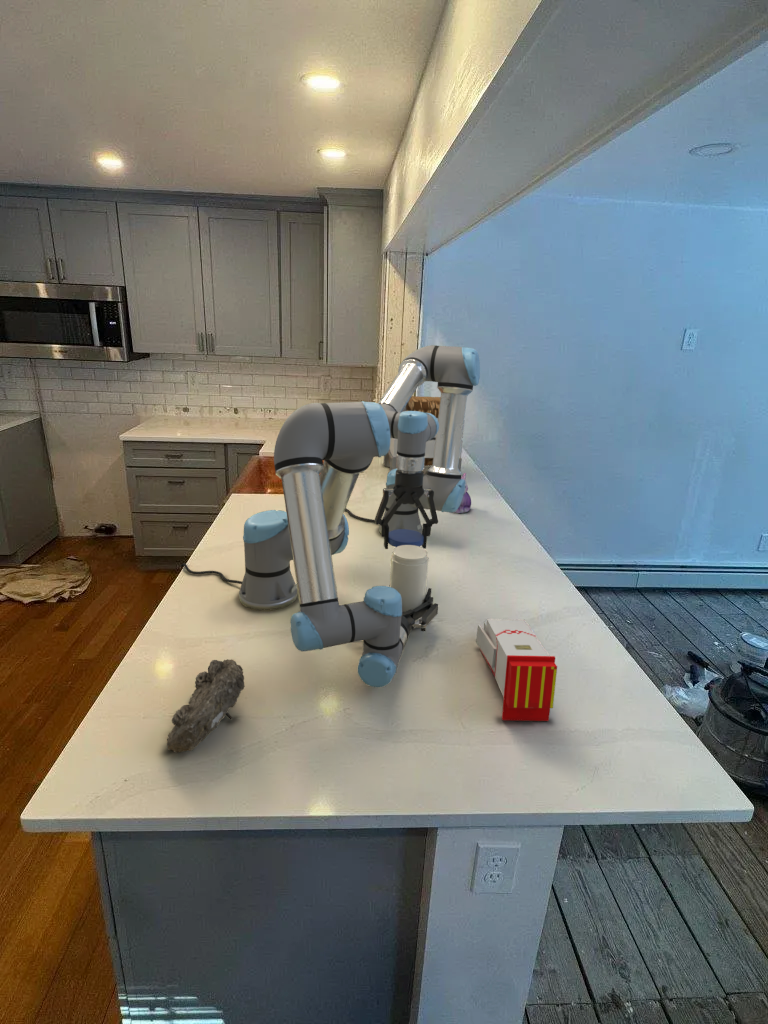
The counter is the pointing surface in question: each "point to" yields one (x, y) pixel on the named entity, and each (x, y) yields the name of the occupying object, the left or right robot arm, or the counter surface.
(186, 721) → the fossil
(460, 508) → the figurine
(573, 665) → the counter surface
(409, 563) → the jar
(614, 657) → the counter surface
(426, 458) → the light grey boxy frame
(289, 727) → the counter surface
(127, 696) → the counter surface
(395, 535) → the lid
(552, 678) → the toy
